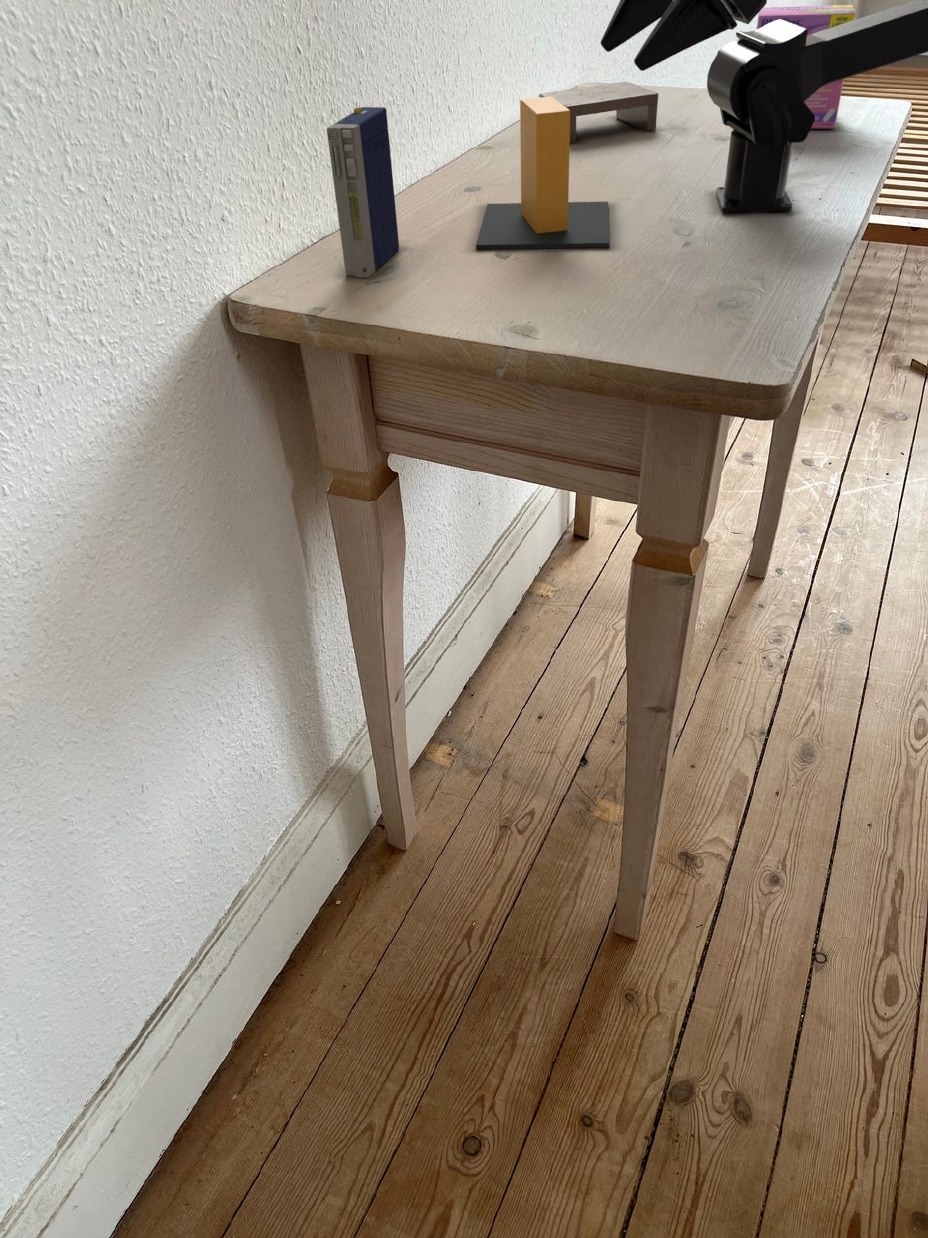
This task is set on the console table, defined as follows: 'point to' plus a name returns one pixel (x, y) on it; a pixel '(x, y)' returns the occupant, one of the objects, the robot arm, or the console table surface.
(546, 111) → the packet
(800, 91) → the robot arm
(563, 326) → the console table surface
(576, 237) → the mat
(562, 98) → the shelf
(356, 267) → the cassette player
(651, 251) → the console table surface
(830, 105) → the box
